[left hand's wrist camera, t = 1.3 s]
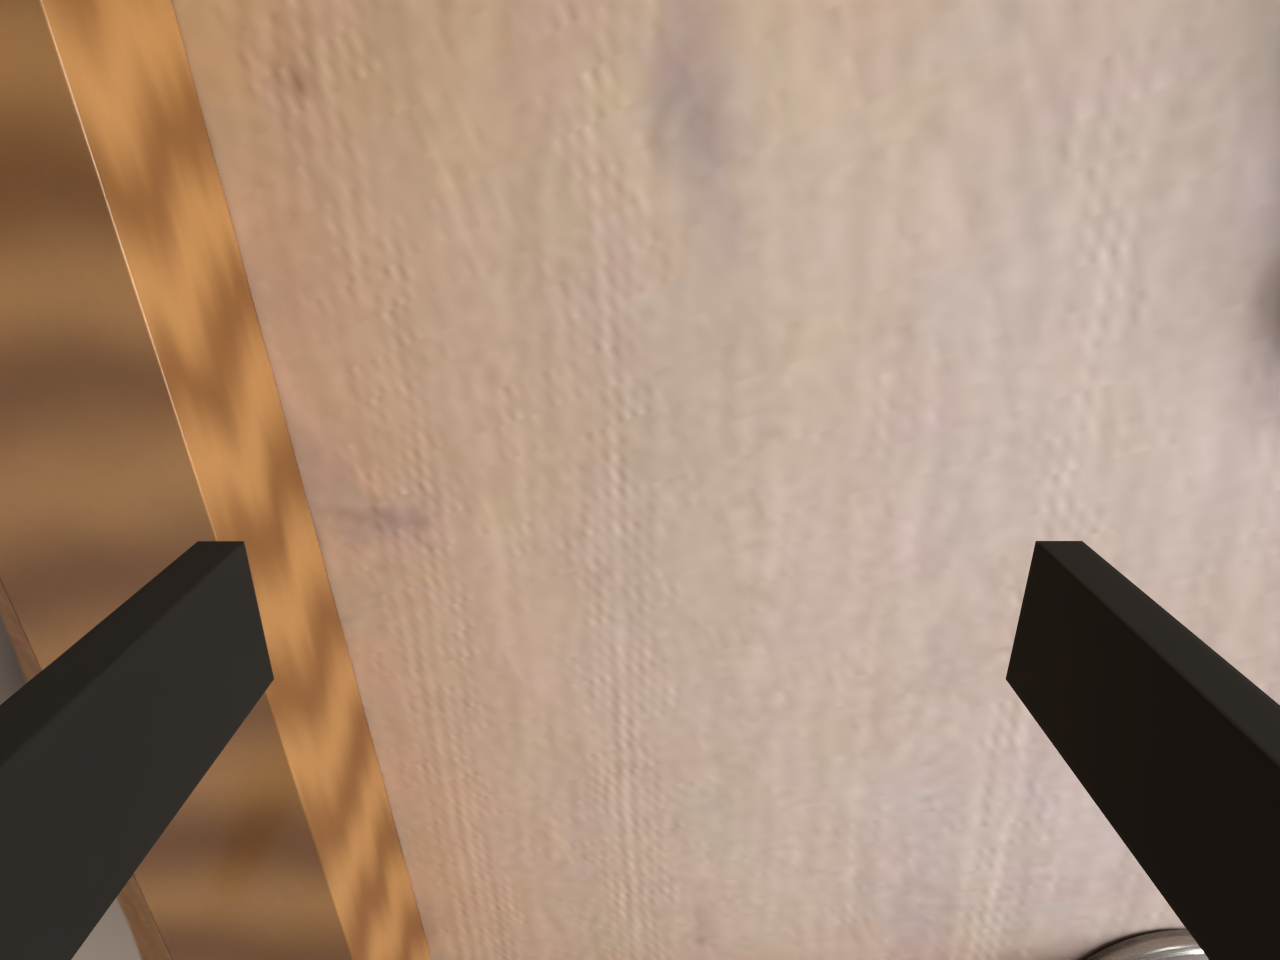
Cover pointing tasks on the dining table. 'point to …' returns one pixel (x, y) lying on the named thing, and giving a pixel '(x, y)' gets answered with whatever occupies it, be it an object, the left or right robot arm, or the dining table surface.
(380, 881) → the long beam
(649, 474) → the dining table surface
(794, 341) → the dining table surface
